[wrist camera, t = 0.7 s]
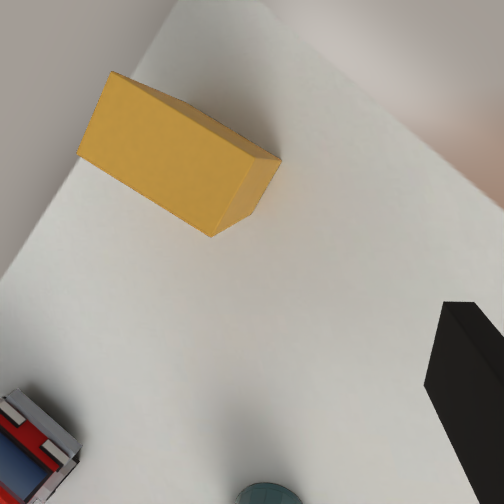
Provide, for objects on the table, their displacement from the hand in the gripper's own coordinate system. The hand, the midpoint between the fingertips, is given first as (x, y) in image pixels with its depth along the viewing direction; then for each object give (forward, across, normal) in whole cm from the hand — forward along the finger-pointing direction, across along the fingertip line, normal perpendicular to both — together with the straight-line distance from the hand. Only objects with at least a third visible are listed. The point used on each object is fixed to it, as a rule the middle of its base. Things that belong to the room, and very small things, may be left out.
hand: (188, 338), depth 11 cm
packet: (+20, -1, 0) cm, 20 cm away
